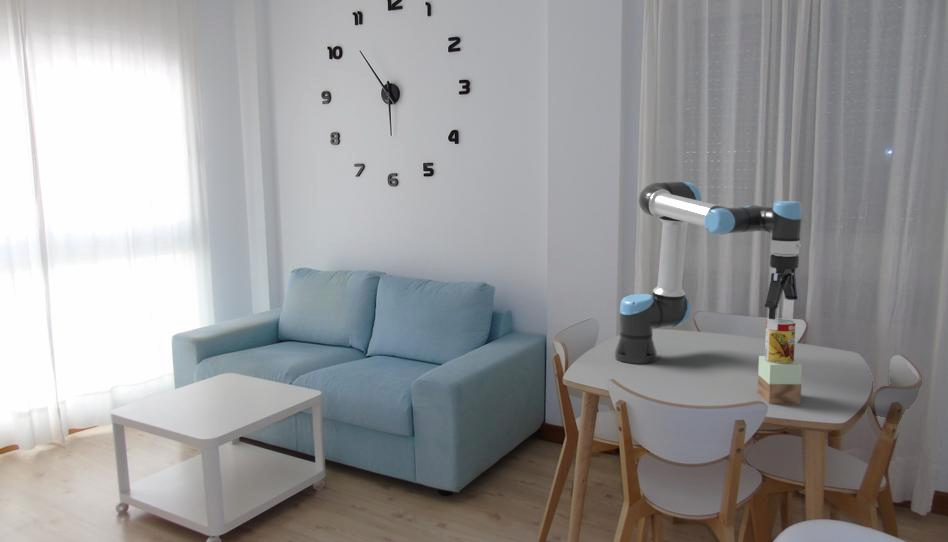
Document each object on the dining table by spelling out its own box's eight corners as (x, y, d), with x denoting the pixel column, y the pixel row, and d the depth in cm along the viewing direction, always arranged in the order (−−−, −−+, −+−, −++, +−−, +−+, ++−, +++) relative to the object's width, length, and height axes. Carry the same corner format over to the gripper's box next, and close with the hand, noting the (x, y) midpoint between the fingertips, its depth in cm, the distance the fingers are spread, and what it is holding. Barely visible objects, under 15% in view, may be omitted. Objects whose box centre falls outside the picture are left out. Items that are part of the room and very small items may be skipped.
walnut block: (769, 403, 191) (769, 384, 190) (757, 393, 199) (758, 374, 198) (800, 403, 190) (801, 384, 189) (787, 393, 199) (788, 374, 198)
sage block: (769, 384, 190) (770, 364, 189) (758, 374, 199) (759, 355, 198) (800, 384, 189) (802, 364, 188) (788, 374, 198) (789, 355, 197)
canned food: (797, 363, 189) (798, 324, 187) (768, 363, 190) (769, 323, 188) (789, 356, 196) (791, 318, 194) (762, 356, 198) (763, 317, 196)
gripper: (784, 261, 176) (779, 335, 180) (811, 250, 194) (806, 318, 198) (755, 258, 181) (751, 331, 185) (785, 248, 199) (780, 315, 203)
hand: (780, 324), depth 191 cm, fingers open, 13 cm apart
